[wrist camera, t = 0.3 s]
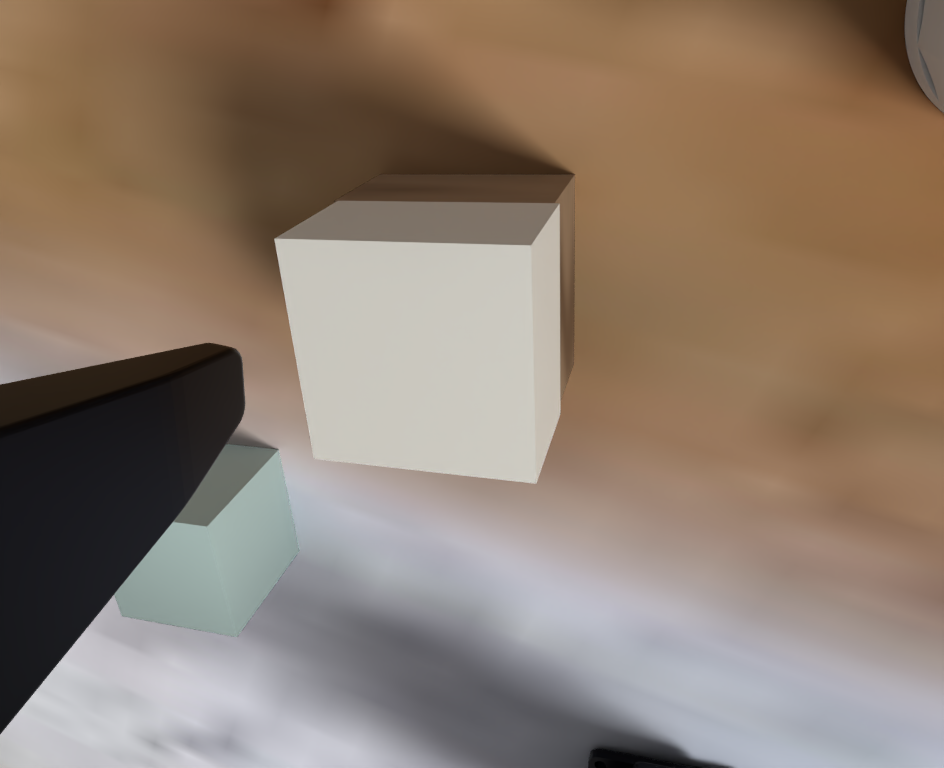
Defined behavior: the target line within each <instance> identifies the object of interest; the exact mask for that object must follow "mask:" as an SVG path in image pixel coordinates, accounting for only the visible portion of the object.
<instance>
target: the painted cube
mask: <svg viewBox="0 0 944 768" xmlns="http://www.w3.org/2000/svg"><path fill="white" fill-rule="evenodd" d="M299 551H300V550H299V545H298V540H297V535H296V531H295V526H294V521H293V516H292V511H291V506H290V502H289V497H288V492H287V487H286V482H285V477H284V473H283V468H282V463H281V458H280V453H279V449H269V448H260V447H250V446H241V445H231V444H226V445H225V447H224V448H223V450H222V451H221V453H220V454H219V456H218V457H217V459H216V461H215V462H214V464H213V465H212V467H211V468H210V470H209V471H208V473H207V474H206V476H205V478H204V479H203V481H202V482H201V484H200V485H199V487H198V488H197V490H196V492H195V493H194V494H193V496H192V497H191V499H190V500H189V502H188V503H187V504H186V506H185V507H184V509H183V510H182V511H181V512H180V514H179V515H178V516H177V518H176V519H175V520H174V521H173V523H172V524H171V525H170V526H169V528H168V529H167V530H166V531H165V533H164V534H163V535H162V536H161V537H160V539H159V540H158V541H157V542H156V544H155V545H154V546H153V547H152V549H151V550H150V551H149V552H148V553H147V555H146V556H145V557H144V558H143V560H142V561H141V562H140V563H139V565H138V566H137V567H136V568H135V569H134V571H133V572H132V573H131V574H130V576H129V577H128V578H127V579H126V580H125V582H124V583H123V584H122V585H121V587H120V588H119V589H118V590H117V592H116V593H115V594H114V595H115V598H116V601H117V604H118V606H119V609H120V612H121V615H122V616H124V617H129V618H135V619H140V620H146V621H151V622H156V623H162V624H167V625H173V626H178V627H184V628H189V629H195V630H200V631H206V632H211V633H217V634H222V635H228V636H233V637H238V635H239V634H240V633H241V631H242V630H243V628H244V627H245V626H246V624H247V623H248V621H249V620H250V619H251V617H252V616H253V615H254V613H255V612H256V610H257V609H258V608H259V606H260V605H261V604H262V602H263V601H264V599H265V598H266V597H267V595H268V594H269V593H270V591H271V590H272V588H273V587H274V586H275V584H276V583H277V582H278V580H279V579H280V577H281V576H282V575H283V573H284V572H285V571H286V569H287V568H288V566H289V565H290V564H291V562H292V561H293V560H294V558H295V557H296V555H297V554H298V553H299Z"/></svg>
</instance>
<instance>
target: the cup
mask: <svg viewBox="0 0 944 768" xmlns="http://www.w3.org/2000/svg"><path fill="white" fill-rule="evenodd" d="M905 42H906V49H907V54H908V58H909V62H910V65H911V68H912V71H913V73H914V75H915V78H916V80H917V82H918V83H919V85H920V87H921V89H922V90H923V91H924V93H925V94H926V96H927V97H928V98H929V99H930V101H931V102H932V103H933V104H934V105H935V106H936V107H937V108H938V109H939V110H940V111H942V112H943V113H944V0H907V4H906V12H905Z"/></svg>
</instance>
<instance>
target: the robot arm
mask: <svg viewBox="0 0 944 768" xmlns="http://www.w3.org/2000/svg"><path fill="white" fill-rule="evenodd" d="M244 410H245V392H244V377H243V363H242V357H241V355H240V353H239V352H238V351H237V350H236V349H235V348H232V347H228V346H223V345H219V344H214V343H204V344H199V345H194V346H189V347H184V348H179V349H174V350H169V351H164V352H160V353H155V354H150V355H145V356H140V357H135V358H130V359H125V360H120V361H115V362H110V363H105V364H100V365H95V366H90V367H85V368H80V369H76V370H71V371H66V372H61V373H56V374H51V375H46V376H41V377H36V378H31V379H26V380H21V381H16V382H11V383H6V384H1V385H0V734H1V733H2V732H3V730H4V729H5V728H6V727H7V726H8V724H9V723H10V722H11V721H12V719H13V718H14V717H15V716H16V714H17V713H18V712H19V711H20V710H21V708H22V707H23V706H24V705H25V703H26V702H27V701H28V700H29V698H30V697H31V696H32V695H33V694H34V692H35V691H36V690H37V689H38V687H39V686H40V685H41V684H42V683H43V681H44V680H45V679H46V678H47V676H48V675H49V674H50V673H51V671H52V670H53V669H54V668H55V667H56V665H57V664H58V663H59V662H60V660H61V659H62V658H63V657H64V655H65V654H66V653H67V652H68V651H69V649H70V648H71V647H72V646H73V644H74V643H75V642H76V641H77V639H78V638H79V637H80V636H81V635H82V633H83V632H84V631H85V630H86V628H87V627H88V626H89V625H90V624H91V622H92V621H93V620H94V619H95V617H96V616H97V615H98V614H99V612H100V611H101V610H102V609H103V608H104V606H105V605H106V604H107V603H108V601H109V600H110V599H111V598H112V596H113V595H114V594H115V593H116V592H117V590H118V589H119V588H120V587H121V585H122V584H123V583H124V582H125V580H126V579H127V578H128V577H129V576H130V574H131V573H132V572H133V571H134V569H135V568H136V567H137V566H138V565H139V563H140V562H141V561H142V560H143V558H144V557H145V556H146V555H147V553H148V552H149V551H150V550H151V549H152V547H153V546H154V545H155V544H156V542H157V541H158V540H159V539H160V537H161V536H162V535H163V534H164V533H165V531H166V530H167V529H168V528H169V526H170V525H171V524H172V523H173V521H174V520H175V519H176V518H177V516H178V515H179V514H180V512H181V511H182V510H183V509H184V507H185V506H186V504H187V503H188V502H189V500H190V499H191V497H192V496H193V494H194V493H195V492H196V490H197V488H198V487H199V485H200V484H201V482H202V481H203V479H204V478H205V476H206V474H207V473H208V471H209V470H210V468H211V467H212V465H213V464H214V462H215V461H216V459H217V457H218V456H219V454H220V453H221V451H222V450H223V448H224V447H225V445H226V443H227V442H228V440H229V439H230V437H231V436H232V434H233V433H234V431H235V429H236V428H237V426H238V425H239V423H240V421H241V419H242V417H243V414H244ZM588 768H694V767H689V766H684V765H679V764H674V763H669V762H664V761H659V760H654V759H649V758H644V757H639V756H634V755H629V754H624V753H619V752H614V751H609V750H604V749H594V750H592V751H591V753H590V757H589V764H588Z"/></svg>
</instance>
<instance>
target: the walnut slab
mask: <svg viewBox="0 0 944 768" xmlns="http://www.w3.org/2000/svg"><path fill="white" fill-rule="evenodd" d="M337 201H408V202H494V203H560V401H561V398H562V396H563V393H564V390H565V387H566V385H567V382H568V379H569V376H570V374H571V371H572V368H573V365H574V264H575V174H380V175H378V176H376V177H374V178H373V179H371V180H369V181H368V182H366V183H364V184H362V185H361V186H359V187H357V188H356V189H354V190H352V191H350V192H349V193H347V194H345V195H344V196H342V197H340V198H338V199H337V200H335V201H334V203H335V202H337Z"/></svg>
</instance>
